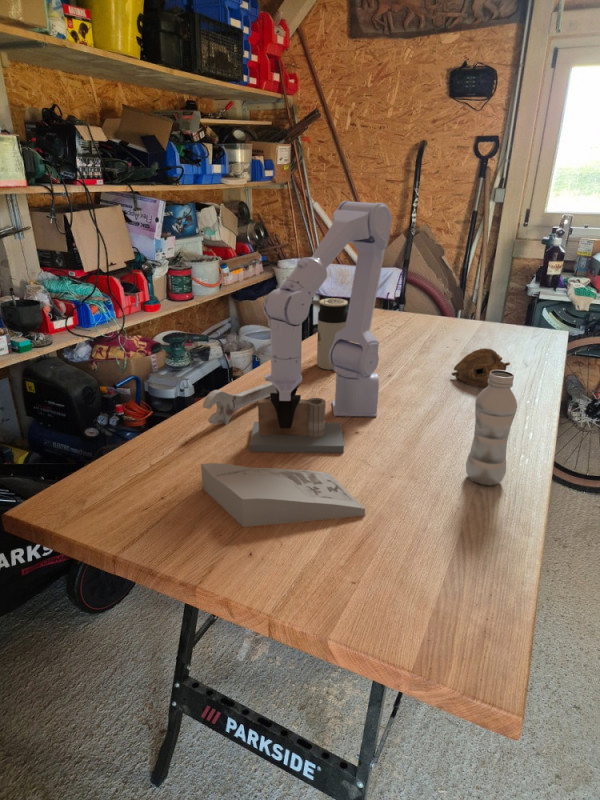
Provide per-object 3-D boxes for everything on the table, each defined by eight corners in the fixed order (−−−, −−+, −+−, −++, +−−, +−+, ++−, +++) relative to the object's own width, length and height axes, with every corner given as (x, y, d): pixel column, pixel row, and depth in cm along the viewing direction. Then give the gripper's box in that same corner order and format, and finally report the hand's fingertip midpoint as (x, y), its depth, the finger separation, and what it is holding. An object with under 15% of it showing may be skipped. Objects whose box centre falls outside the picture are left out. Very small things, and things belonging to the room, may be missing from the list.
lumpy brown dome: (441, 359, 134) (502, 347, 126) (464, 334, 153) (519, 322, 145) (451, 395, 136) (512, 386, 128) (473, 367, 156) (527, 357, 147)
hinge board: (340, 429, 111) (341, 409, 109) (343, 452, 101) (344, 431, 100) (254, 428, 111) (253, 408, 109) (249, 451, 101) (249, 430, 100)
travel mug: (346, 362, 149) (350, 298, 142) (344, 371, 142) (347, 305, 135) (318, 360, 150) (320, 297, 143) (314, 369, 143) (316, 303, 136)
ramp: (371, 488, 91) (373, 461, 89) (360, 547, 77) (362, 516, 75) (217, 468, 96) (215, 442, 94) (180, 520, 82) (177, 490, 80)
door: (258, 437, 104) (257, 404, 101) (259, 428, 107) (259, 397, 104) (324, 437, 104) (325, 405, 101) (324, 429, 107) (325, 397, 104)
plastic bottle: (498, 494, 89) (520, 384, 81) (458, 482, 92) (475, 375, 84) (507, 477, 94) (528, 372, 86) (469, 466, 97) (485, 364, 89)
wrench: (288, 399, 132) (208, 433, 107) (282, 398, 133) (201, 431, 108) (290, 368, 129) (209, 395, 105) (284, 367, 130) (202, 393, 105)
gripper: (267, 342, 105) (267, 404, 111) (262, 367, 92) (263, 436, 98) (302, 342, 105) (301, 405, 111) (302, 368, 92) (301, 437, 98)
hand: (286, 420), depth 104 cm, fingers open, 6 cm apart
